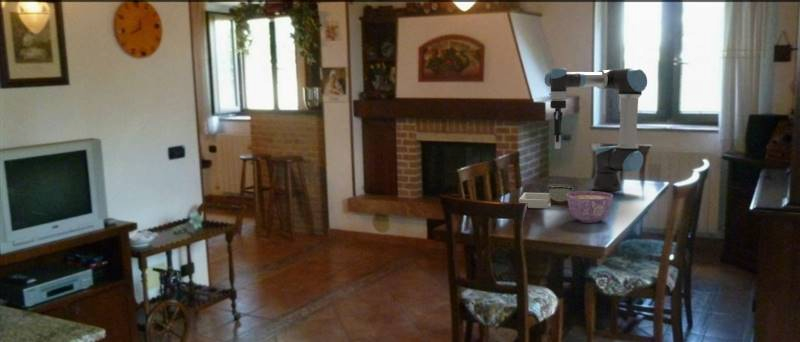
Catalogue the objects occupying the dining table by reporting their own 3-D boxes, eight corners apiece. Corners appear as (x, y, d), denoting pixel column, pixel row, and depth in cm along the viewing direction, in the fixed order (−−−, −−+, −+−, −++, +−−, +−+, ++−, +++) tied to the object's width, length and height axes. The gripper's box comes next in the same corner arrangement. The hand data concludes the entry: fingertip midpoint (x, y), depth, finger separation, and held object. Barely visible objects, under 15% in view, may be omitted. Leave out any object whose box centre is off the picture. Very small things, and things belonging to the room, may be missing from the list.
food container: (574, 204, 366) (574, 184, 364) (573, 206, 360) (573, 186, 358) (549, 203, 370) (549, 183, 368) (547, 205, 364) (547, 185, 362)
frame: (551, 201, 375) (551, 193, 374) (548, 208, 358) (548, 200, 357) (524, 200, 379) (524, 192, 378) (519, 207, 362) (519, 199, 361)
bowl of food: (605, 227, 315) (605, 200, 313) (559, 223, 325) (559, 197, 323) (618, 218, 331) (619, 192, 330) (574, 214, 342) (574, 189, 340)
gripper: (552, 99, 371) (551, 146, 374) (548, 100, 359) (548, 149, 362) (567, 99, 369) (566, 147, 372) (564, 100, 356) (563, 150, 360)
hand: (557, 148), depth 367 cm, fingers closed
